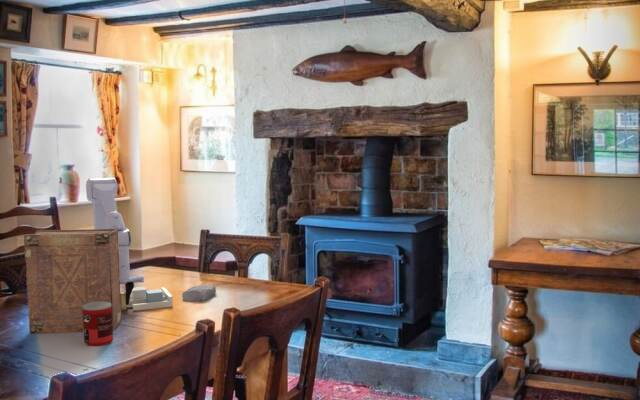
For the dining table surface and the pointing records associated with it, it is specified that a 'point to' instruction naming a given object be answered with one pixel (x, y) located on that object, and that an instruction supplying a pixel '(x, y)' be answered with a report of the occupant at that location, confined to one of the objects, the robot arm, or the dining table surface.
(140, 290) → the cream cube
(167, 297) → the lane rack
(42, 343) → the dining table surface
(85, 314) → the canned food
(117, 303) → the book
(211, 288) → the stone block
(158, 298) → the tethered block
